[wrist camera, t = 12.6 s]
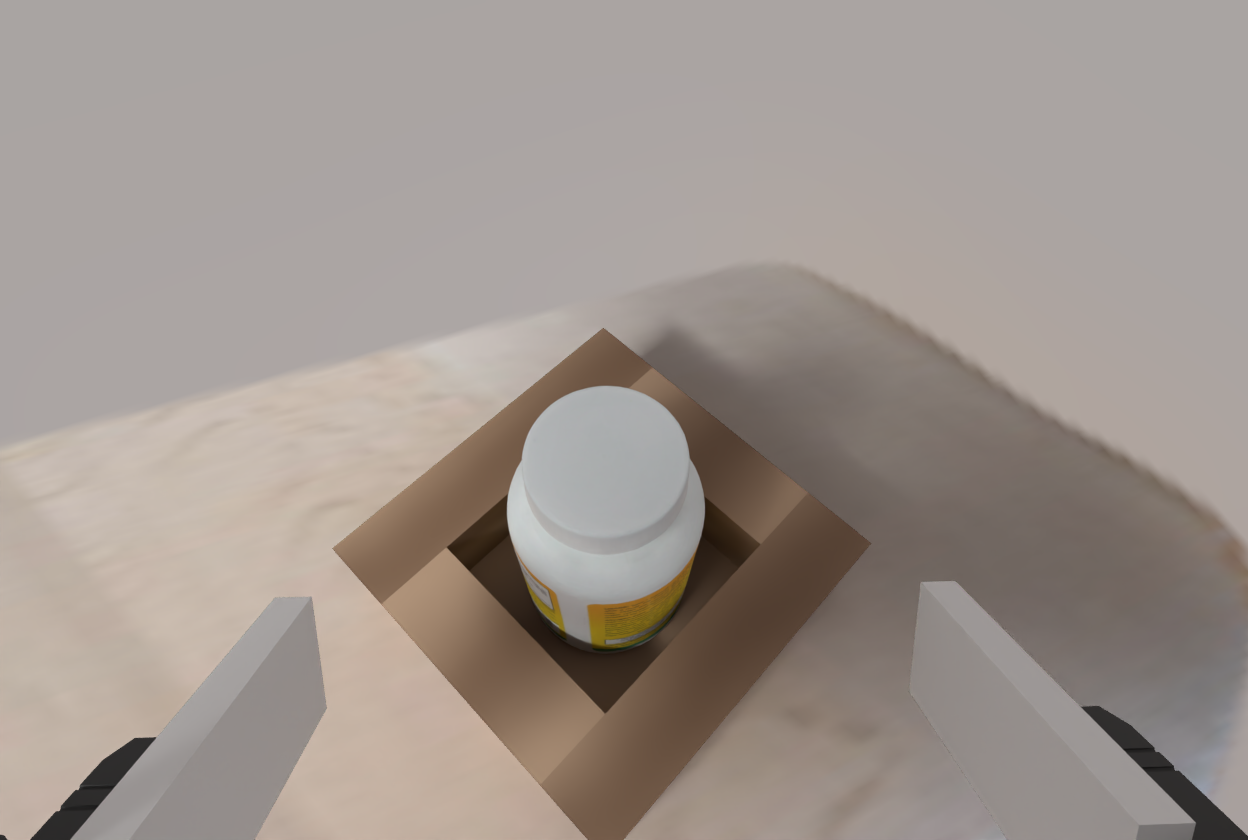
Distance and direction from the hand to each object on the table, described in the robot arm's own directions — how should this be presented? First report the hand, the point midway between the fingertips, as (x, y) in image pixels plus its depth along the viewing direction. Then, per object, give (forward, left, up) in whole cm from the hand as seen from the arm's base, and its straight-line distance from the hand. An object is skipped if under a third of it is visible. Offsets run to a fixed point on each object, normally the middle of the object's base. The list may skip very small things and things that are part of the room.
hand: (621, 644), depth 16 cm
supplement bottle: (-3, +3, -9) cm, 10 cm away
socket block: (-3, +3, -10) cm, 11 cm away
